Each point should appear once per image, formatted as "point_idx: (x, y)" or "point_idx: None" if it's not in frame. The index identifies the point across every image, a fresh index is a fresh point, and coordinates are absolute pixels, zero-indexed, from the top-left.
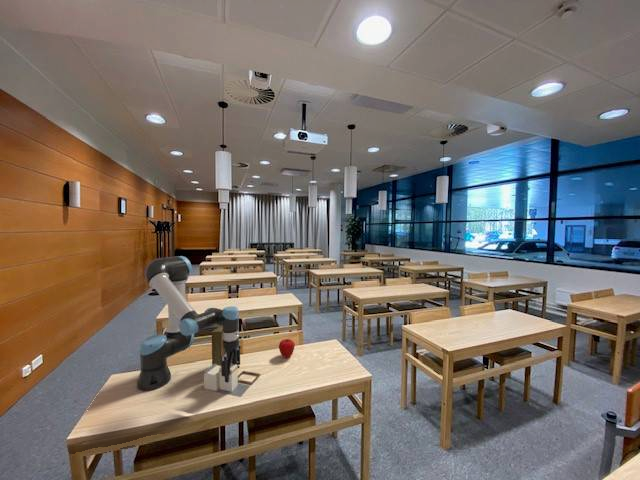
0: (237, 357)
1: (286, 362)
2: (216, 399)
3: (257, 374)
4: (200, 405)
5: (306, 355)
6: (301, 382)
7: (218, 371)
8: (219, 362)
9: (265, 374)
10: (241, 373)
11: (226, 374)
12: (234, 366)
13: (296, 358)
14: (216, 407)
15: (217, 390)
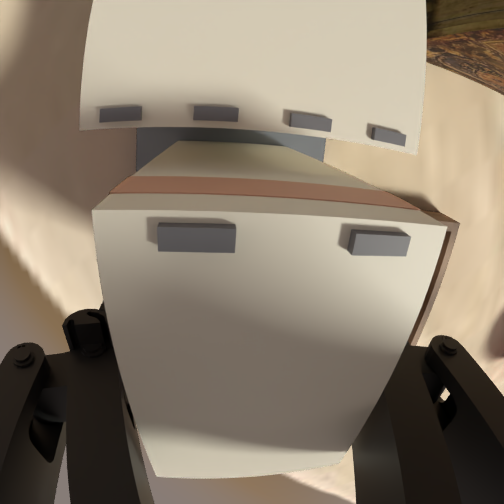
0: (463, 477)
1: (487, 363)
2: (84, 181)
3: (410, 337)
4: (4, 115)
5: (499, 389)
6: (344, 464)
7: (225, 89)
8: (495, 4)
9: (424, 343)
10: None
11: (48, 430)
12: (279, 466)
13: (497, 375)
14: (25, 241)
15: (157, 130)
